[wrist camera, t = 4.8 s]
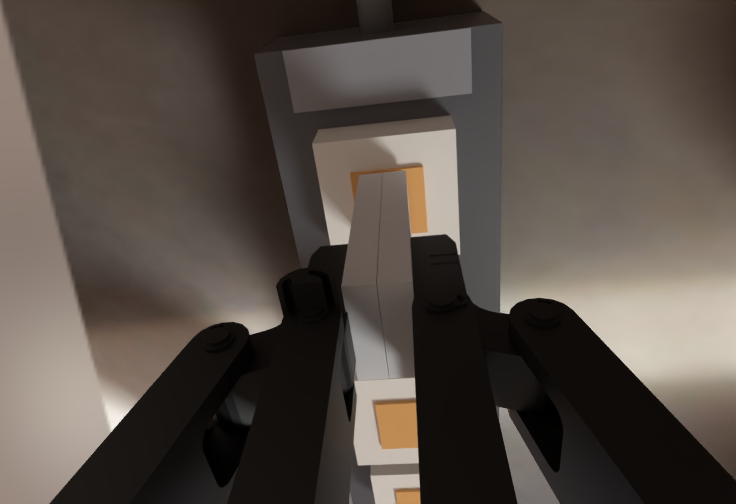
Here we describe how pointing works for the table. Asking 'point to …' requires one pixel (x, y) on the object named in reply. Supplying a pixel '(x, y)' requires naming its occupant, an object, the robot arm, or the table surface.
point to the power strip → (386, 104)
